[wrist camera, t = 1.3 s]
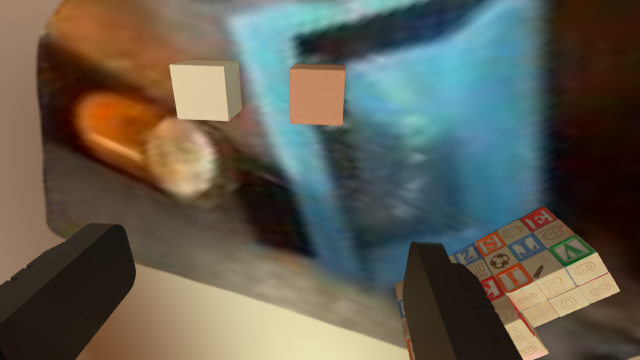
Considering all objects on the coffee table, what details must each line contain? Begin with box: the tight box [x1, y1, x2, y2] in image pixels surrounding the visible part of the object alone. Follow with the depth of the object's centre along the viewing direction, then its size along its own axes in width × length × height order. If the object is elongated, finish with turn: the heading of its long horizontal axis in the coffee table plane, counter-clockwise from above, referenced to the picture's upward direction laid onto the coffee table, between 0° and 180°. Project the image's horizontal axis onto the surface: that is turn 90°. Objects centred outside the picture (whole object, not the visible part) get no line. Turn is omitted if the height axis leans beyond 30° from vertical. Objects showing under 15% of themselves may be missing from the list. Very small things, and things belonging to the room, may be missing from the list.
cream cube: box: [170, 60, 242, 121], centre depth 33 cm, size 5×5×5 cm
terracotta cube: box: [290, 64, 345, 125], centre depth 32 cm, size 5×5×5 cm
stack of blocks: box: [395, 206, 620, 360], centre depth 38 cm, size 21×6×12 cm, turn 129°
